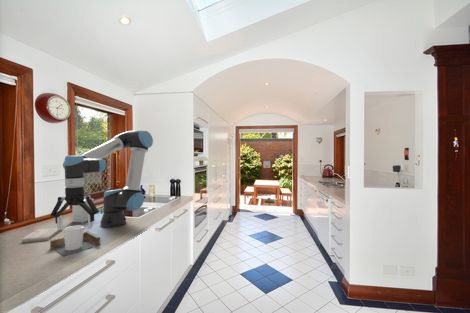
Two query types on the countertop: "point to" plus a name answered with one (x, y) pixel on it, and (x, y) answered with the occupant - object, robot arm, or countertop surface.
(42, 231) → the washcloth
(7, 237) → the countertop surface
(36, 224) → the countertop surface
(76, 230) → the white cup
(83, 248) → the mat
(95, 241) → the corner walls
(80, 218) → the supplement box
